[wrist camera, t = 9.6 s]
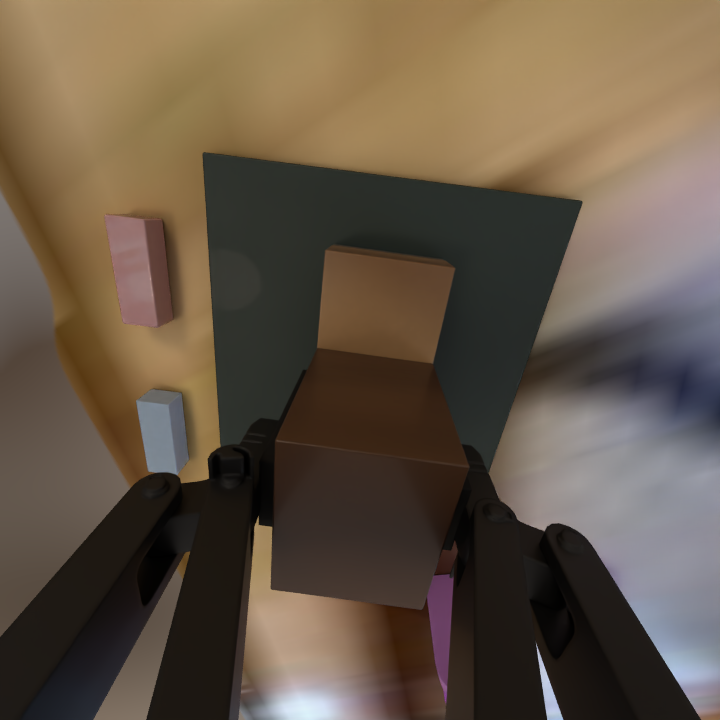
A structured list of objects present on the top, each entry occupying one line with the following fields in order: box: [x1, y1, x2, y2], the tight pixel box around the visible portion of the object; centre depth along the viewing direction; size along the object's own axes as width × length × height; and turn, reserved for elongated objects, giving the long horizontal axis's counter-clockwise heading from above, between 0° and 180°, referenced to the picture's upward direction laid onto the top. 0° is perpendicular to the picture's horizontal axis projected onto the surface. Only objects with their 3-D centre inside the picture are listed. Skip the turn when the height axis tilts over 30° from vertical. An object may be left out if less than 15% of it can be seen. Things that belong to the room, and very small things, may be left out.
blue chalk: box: [136, 389, 189, 475], centre depth 20 cm, size 5×2×1 cm, turn 173°
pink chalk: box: [104, 214, 173, 328], centre depth 16 cm, size 5×2×1 cm, turn 173°
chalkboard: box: [203, 152, 582, 472], centre depth 18 cm, size 20×16×1 cm
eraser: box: [271, 244, 469, 610], centre depth 14 cm, size 14×5×9 cm, turn 173°
